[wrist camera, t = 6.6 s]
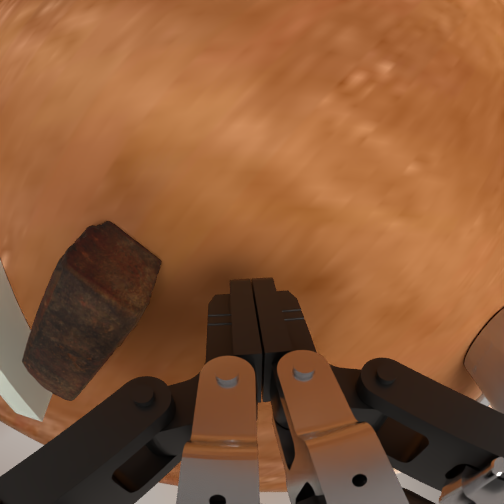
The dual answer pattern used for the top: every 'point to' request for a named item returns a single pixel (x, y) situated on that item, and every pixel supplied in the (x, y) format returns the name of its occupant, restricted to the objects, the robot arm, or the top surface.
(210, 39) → the top surface
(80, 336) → the brick
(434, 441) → the robot arm
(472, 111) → the top surface
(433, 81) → the top surface
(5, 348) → the board
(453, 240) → the top surface
